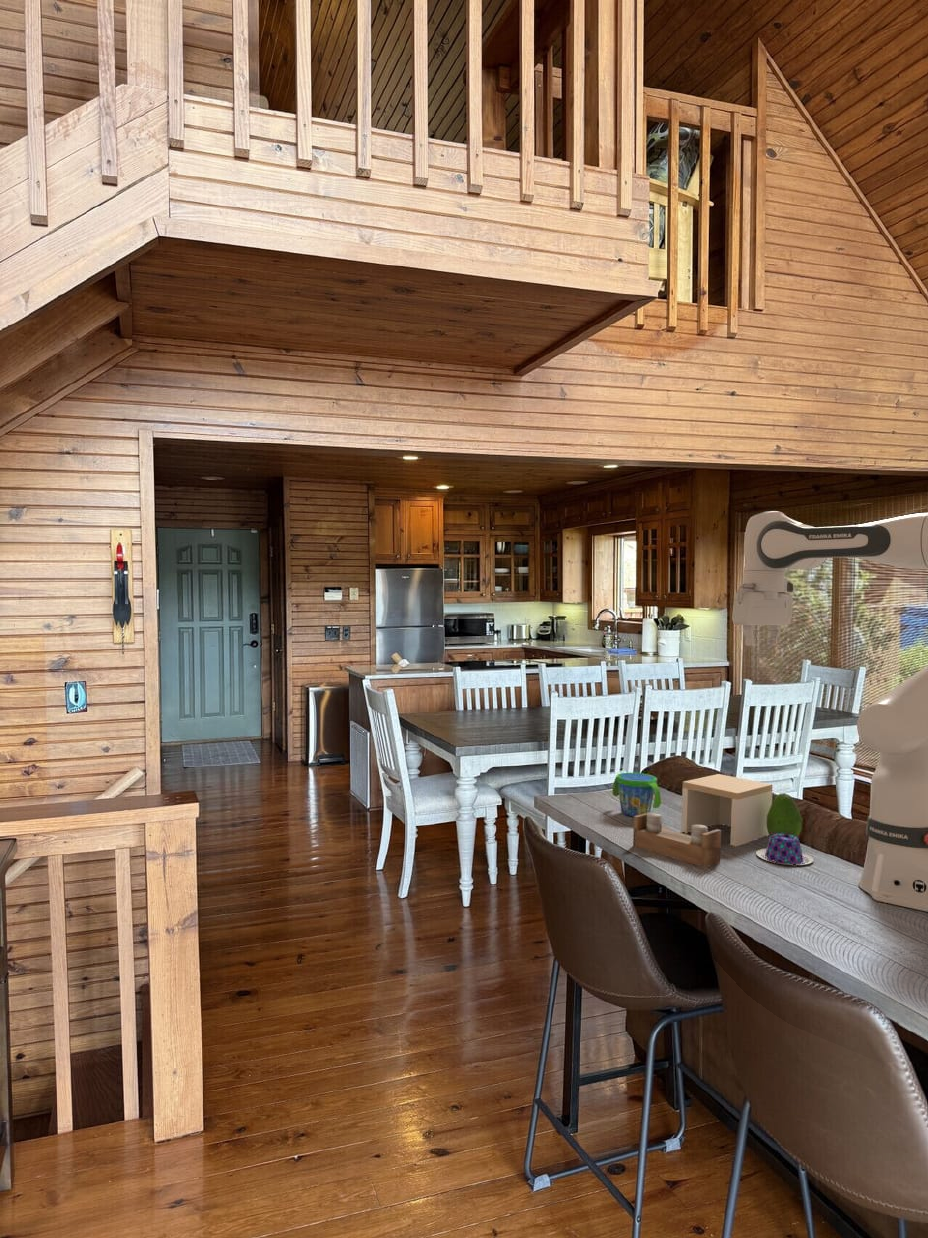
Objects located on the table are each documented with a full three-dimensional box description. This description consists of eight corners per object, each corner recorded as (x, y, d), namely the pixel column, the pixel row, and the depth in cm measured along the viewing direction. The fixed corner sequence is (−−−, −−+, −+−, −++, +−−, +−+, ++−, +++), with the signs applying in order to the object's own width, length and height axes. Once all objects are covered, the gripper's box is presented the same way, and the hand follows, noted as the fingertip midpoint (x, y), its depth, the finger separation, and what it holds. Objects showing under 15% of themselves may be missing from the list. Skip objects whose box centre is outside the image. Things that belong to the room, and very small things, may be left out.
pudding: (821, 869, 180) (822, 845, 180) (765, 867, 180) (766, 843, 180) (801, 852, 192) (802, 830, 192) (749, 850, 192) (749, 828, 192)
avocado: (767, 846, 195) (768, 795, 195) (764, 837, 203) (765, 788, 202) (803, 849, 193) (805, 798, 193) (799, 840, 201) (801, 791, 200)
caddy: (648, 841, 197) (649, 810, 197) (720, 862, 183) (721, 828, 182) (633, 846, 193) (634, 814, 193) (704, 867, 179) (705, 832, 178)
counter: (770, 835, 205) (772, 784, 205) (736, 846, 194) (737, 793, 194) (716, 821, 216) (718, 774, 216) (681, 832, 206) (682, 781, 205)
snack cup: (670, 819, 217) (672, 780, 217) (639, 823, 212) (640, 784, 212) (632, 805, 231) (633, 769, 231) (601, 809, 226) (602, 772, 226)
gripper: (752, 582, 178) (750, 647, 179) (798, 585, 192) (796, 645, 192) (725, 582, 183) (723, 645, 184) (773, 585, 197) (771, 643, 197)
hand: (761, 645), depth 188 cm, fingers open, 8 cm apart
